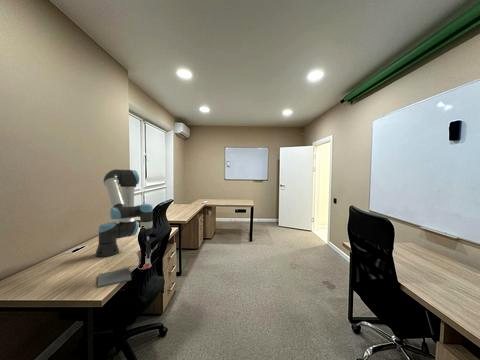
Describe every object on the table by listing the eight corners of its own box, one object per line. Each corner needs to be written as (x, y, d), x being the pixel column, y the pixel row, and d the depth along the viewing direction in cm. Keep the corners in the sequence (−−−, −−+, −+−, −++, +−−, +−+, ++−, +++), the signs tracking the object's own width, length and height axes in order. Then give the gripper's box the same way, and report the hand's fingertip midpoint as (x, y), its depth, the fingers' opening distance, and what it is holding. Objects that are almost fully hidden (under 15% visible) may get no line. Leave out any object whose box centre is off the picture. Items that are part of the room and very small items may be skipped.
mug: (146, 271, 132) (147, 254, 132) (133, 270, 134) (133, 253, 134) (157, 263, 144) (157, 248, 144) (144, 262, 146) (145, 247, 145)
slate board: (98, 275, 126) (98, 273, 126) (128, 269, 134) (128, 268, 134) (97, 287, 112) (97, 285, 112) (131, 280, 121) (131, 278, 121)
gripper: (137, 224, 147) (137, 255, 147) (143, 232, 126) (142, 267, 126) (149, 223, 151) (148, 253, 151) (156, 230, 130) (155, 265, 130)
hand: (146, 259), depth 139 cm, fingers open, 13 cm apart
